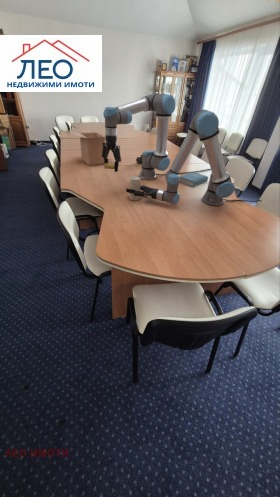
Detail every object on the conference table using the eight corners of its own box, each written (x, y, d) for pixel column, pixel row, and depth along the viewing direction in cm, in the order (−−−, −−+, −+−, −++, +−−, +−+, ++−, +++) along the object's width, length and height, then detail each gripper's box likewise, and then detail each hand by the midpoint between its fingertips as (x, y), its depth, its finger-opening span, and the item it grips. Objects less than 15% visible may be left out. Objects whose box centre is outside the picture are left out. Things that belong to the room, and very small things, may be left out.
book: (192, 177, 214) (193, 171, 211) (207, 182, 205) (208, 176, 202) (178, 181, 200) (179, 176, 197) (193, 187, 192) (194, 181, 189)
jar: (127, 199, 164) (128, 179, 155) (130, 195, 170) (131, 175, 161) (138, 201, 162) (139, 180, 153) (141, 196, 169) (142, 177, 160)
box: (116, 165, 229) (116, 136, 213) (83, 168, 214) (80, 137, 198) (102, 154, 259) (101, 128, 243) (71, 156, 244) (68, 129, 228)
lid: (120, 167, 157) (120, 164, 156) (110, 169, 152) (110, 166, 151) (112, 164, 162) (112, 161, 161) (102, 166, 157) (102, 163, 155)
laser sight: (155, 166, 235) (156, 156, 229) (135, 163, 238) (135, 154, 232) (156, 163, 243) (157, 154, 237) (137, 161, 246) (137, 151, 240)
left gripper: (95, 132, 147) (96, 167, 160) (119, 138, 137) (119, 174, 151) (103, 131, 152) (104, 165, 165) (127, 137, 142) (126, 172, 156)
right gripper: (152, 205, 152) (122, 198, 158) (161, 194, 167) (134, 188, 174) (153, 194, 147) (122, 187, 154) (163, 184, 163) (135, 179, 169)
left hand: (111, 169), depth 158 cm, fingers closed on lid, 9 cm apart
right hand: (129, 188), depth 164 cm, fingers closed on jar, 8 cm apart
